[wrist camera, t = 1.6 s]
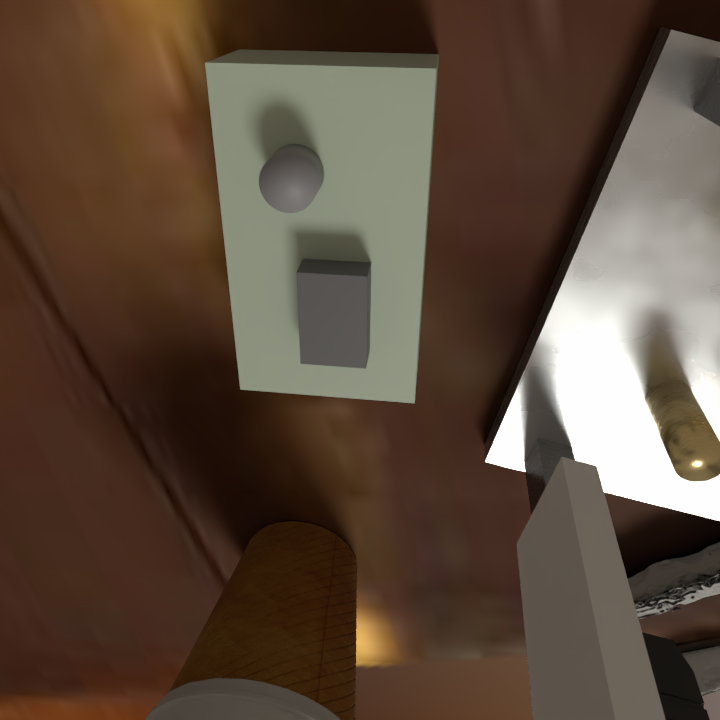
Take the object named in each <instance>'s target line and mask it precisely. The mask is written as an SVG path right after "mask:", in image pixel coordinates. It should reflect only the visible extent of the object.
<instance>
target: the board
mask: <svg viewBox="0 0 720 720" xmlns="http://www.w3.org/2000/svg"><path fill="white" fill-rule="evenodd" d="M438 59H439V54H408V53H366V52H325V51H284V50H243V49H239V50H237V51H234V52H231V53H229V54H226V55H223V56H221V57H218V58H216V59H213V60H210V61H208V62H205V68H206V77H207V86H208V95H209V105H210V114H211V123H212V132H213V142H214V151H215V160H216V170H217V179H218V188H219V197H220V207H221V216H222V225H223V234H224V244H225V253H226V262H227V272H228V281H229V290H230V299H231V309H232V318H233V327H234V336H235V346H236V355H237V364H238V374H239V383H240V390H252V391H265V392H278V393H290V394H303V395H316V396H329V397H341V398H354V399H367V400H379V401H392V402H405V403H415V392H416V380H417V369H418V357H419V343H420V328H421V313H422V298H423V283H424V268H425V253H426V238H427V224H428V209H429V194H430V179H431V164H432V149H433V134H434V119H435V104H436V89H437V74H438Z"/></svg>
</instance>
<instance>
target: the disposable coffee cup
mask: <svg viewBox="0 0 720 720" xmlns="http://www.w3.org/2000/svg"><path fill="white" fill-rule="evenodd" d="M356 589H357V562H356V558H355V556H354V554H353V552H352V550H351V549H350V547H349V546H348V544H346V543H345V542H344V541H343V540H342V539H341V538H340V537H339V536H337V535H335V534H334V533H332V532H331V531H329V530H327V529H325V528H323V527H320V526H317V525H314V524H311V523H305V522H299V521H286V522H280V523H274V524H271V525H268V526H266V527H264V528H263V529H261V530H259V531H258V532H257V533H256V534H255V535H254V536H253V537H252V538H251V540H250V542H249V544H248V546H247V548H246V550H245V552H244V554H243V555H242V557H241V559H240V561H239V563H238V565H237V567H236V568H235V570H234V572H233V574H232V576H231V578H230V580H229V582H228V583H227V585H226V587H225V589H224V591H223V593H222V594H221V596H220V598H219V600H218V602H217V604H216V606H215V607H214V610H213V611H212V613H211V615H210V617H209V619H208V621H207V623H206V624H205V626H204V628H203V630H202V632H201V634H200V635H199V637H198V639H197V641H196V643H195V645H194V647H193V648H192V650H191V653H190V654H189V656H188V658H187V660H186V662H185V664H184V666H183V668H182V669H181V671H180V673H179V675H178V677H177V679H176V681H175V683H174V684H173V686H172V688H171V690H170V692H169V693H168V694H167V695H166V696H165V697H164V698H163V699H162V700H160V701H159V703H158V705H157V706H155V707H154V708H153V709H152V710H151V712H150V713H149V714H148V715H147V717H146V719H145V720H355V714H356V713H355V702H356V695H355V689H356V679H355V676H356V665H355V664H356V608H357V606H356V598H357V593H356Z"/></svg>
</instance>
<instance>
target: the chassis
mask: <svg viewBox="0 0 720 720" xmlns="http://www.w3.org/2000/svg"><path fill="white" fill-rule="evenodd" d="M484 451H485V462H488V463H492V464H496V465H500V466H504V467H508V468H512V469H516V470H520V471H524V472H525V473H526V480H527V487H528V494H529V501H530V508H531V515H532V513H533V511H534V509H535V507H536V505H537V503H538V502H539V500H540V498H541V496H542V494H543V492H544V490H545V488H546V486H547V484H548V482H549V480H550V478H551V476H552V474H553V472H554V470H555V468H556V467H557V465H558V463H559V461H560V459H561V457H565V458H569V459H572V460H576V461H580V462H584V463H588V464H592V465H595V466H597V469H598V472H599V476H600V480H601V483H602V487H603V491H604V492H607V493H611V494H615V495H619V496H623V497H627V498H631V499H635V500H638V501H642V502H646V503H650V504H654V505H658V506H662V507H666V508H670V509H674V510H678V511H682V512H686V513H690V514H694V515H698V516H702V517H706V518H710V519H714V520H718V521H720V42H718V41H714V40H710V39H706V38H702V37H699V36H695V35H691V34H687V33H683V32H679V31H675V30H672V29H668V28H664V27H660V29H659V32H658V34H657V37H656V39H655V41H654V44H653V46H652V48H651V51H650V53H649V55H648V58H647V60H646V63H645V65H644V67H643V70H642V72H641V74H640V77H639V79H638V82H637V84H636V86H635V89H634V91H633V93H632V96H631V98H630V101H629V103H628V105H627V108H626V110H625V112H624V115H623V117H622V119H621V122H620V124H619V127H618V129H617V131H616V134H615V136H614V138H613V141H612V143H611V146H610V148H609V150H608V153H607V155H606V157H605V160H604V162H603V165H602V167H601V169H600V172H599V174H598V176H597V179H596V181H595V183H594V186H593V188H592V191H591V193H590V195H589V198H588V200H587V202H586V205H585V207H584V210H583V212H582V214H581V217H580V219H579V221H578V224H577V226H576V229H575V231H574V233H573V236H572V238H571V240H570V243H569V245H568V247H567V250H566V252H565V255H564V257H563V259H562V262H561V264H560V266H559V269H558V271H557V274H556V276H555V278H554V281H553V283H552V285H551V288H550V290H549V293H548V295H547V297H546V300H545V302H544V304H543V307H542V309H541V311H540V314H539V316H538V319H537V321H536V323H535V326H534V328H533V330H532V333H531V335H530V338H529V340H528V342H527V345H526V347H525V349H524V352H523V354H522V357H521V359H520V361H519V364H518V366H517V368H516V371H515V373H514V376H513V378H512V380H511V383H510V385H509V387H508V390H507V392H506V394H505V397H504V399H503V402H502V404H501V406H500V409H499V411H498V413H497V416H496V418H495V421H494V423H493V425H492V428H491V430H490V432H489V435H488V437H487V440H486V442H485V444H484Z"/></svg>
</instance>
